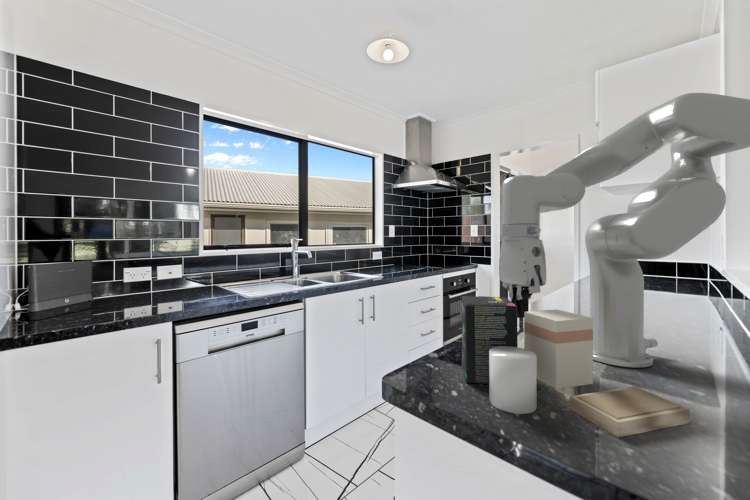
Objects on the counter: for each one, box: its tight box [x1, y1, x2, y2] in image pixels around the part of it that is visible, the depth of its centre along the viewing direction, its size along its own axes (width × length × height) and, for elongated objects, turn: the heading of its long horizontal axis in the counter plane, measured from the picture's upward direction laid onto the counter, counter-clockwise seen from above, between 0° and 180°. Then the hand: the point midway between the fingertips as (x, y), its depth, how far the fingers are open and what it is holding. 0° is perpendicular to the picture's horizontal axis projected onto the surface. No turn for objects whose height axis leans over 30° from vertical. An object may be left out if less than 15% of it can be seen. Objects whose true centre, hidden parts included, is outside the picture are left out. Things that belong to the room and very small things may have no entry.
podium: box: [569, 385, 691, 438], centre depth 47 cm, size 13×8×2 cm, turn 104°
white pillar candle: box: [488, 346, 538, 415], centre depth 52 cm, size 7×7×8 cm
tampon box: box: [461, 295, 519, 385], centre depth 63 cm, size 11×9×15 cm
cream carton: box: [523, 308, 594, 390], centre depth 61 cm, size 8×8×12 cm
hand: (519, 316), depth 71 cm, fingers closed
